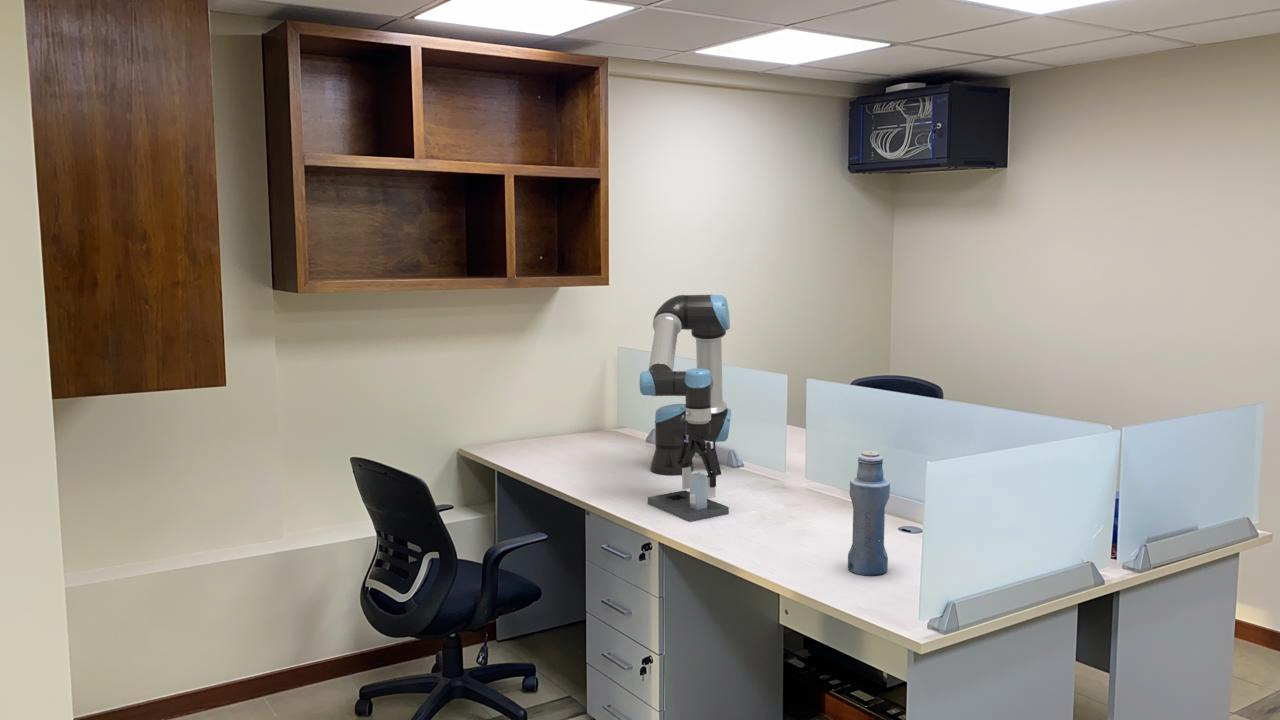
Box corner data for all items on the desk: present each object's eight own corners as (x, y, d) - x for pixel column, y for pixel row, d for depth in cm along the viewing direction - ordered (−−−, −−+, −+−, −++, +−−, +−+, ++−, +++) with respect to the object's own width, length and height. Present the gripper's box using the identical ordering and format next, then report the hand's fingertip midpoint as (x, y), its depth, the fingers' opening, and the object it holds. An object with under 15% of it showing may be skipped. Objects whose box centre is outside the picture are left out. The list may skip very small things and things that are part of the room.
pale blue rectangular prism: (700, 511, 300) (699, 472, 298) (707, 514, 297) (706, 474, 295) (688, 513, 297) (688, 474, 296) (695, 516, 294) (694, 476, 293)
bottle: (849, 561, 255) (851, 447, 251) (889, 565, 252) (891, 449, 248) (846, 574, 246) (847, 455, 242) (887, 577, 243) (889, 457, 239)
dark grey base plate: (685, 499, 316) (685, 490, 315) (728, 516, 296) (728, 506, 296) (647, 506, 308) (647, 497, 308) (690, 524, 289) (689, 514, 289)
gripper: (665, 416, 302) (665, 486, 305) (711, 429, 281) (712, 504, 284) (685, 413, 306) (686, 482, 309) (733, 426, 285) (733, 500, 288)
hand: (698, 493), depth 296 cm, fingers open, 12 cm apart
